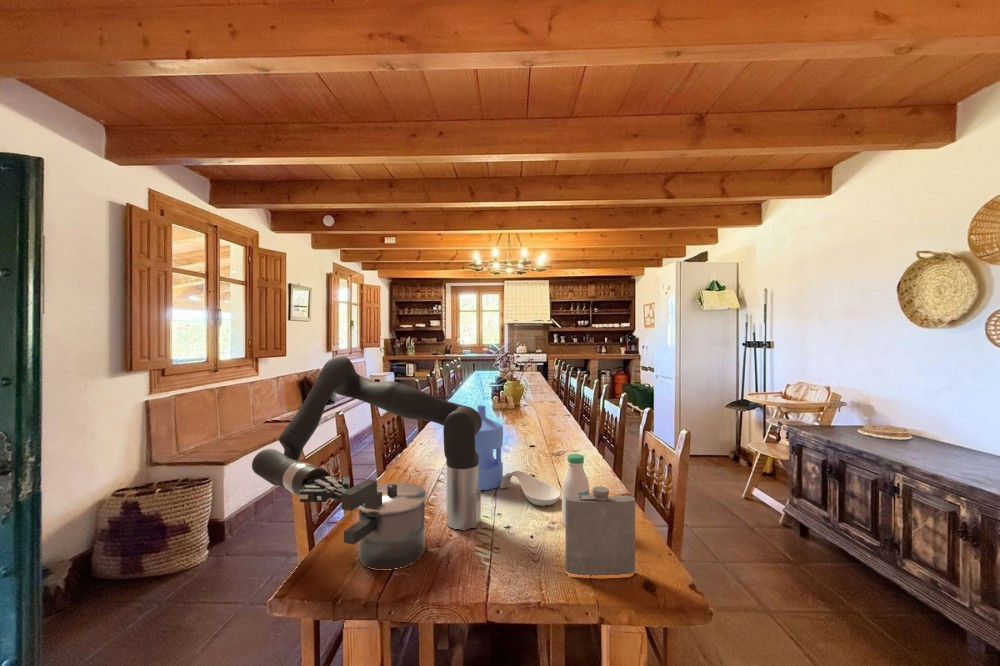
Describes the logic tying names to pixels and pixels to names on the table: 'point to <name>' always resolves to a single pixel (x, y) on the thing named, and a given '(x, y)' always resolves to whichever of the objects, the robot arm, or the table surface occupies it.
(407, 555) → the pressure cooker pot
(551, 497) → the spoon rest
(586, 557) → the hip flask
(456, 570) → the table surface
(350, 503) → the pressure cooker lid
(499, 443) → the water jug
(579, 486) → the milk bottle
